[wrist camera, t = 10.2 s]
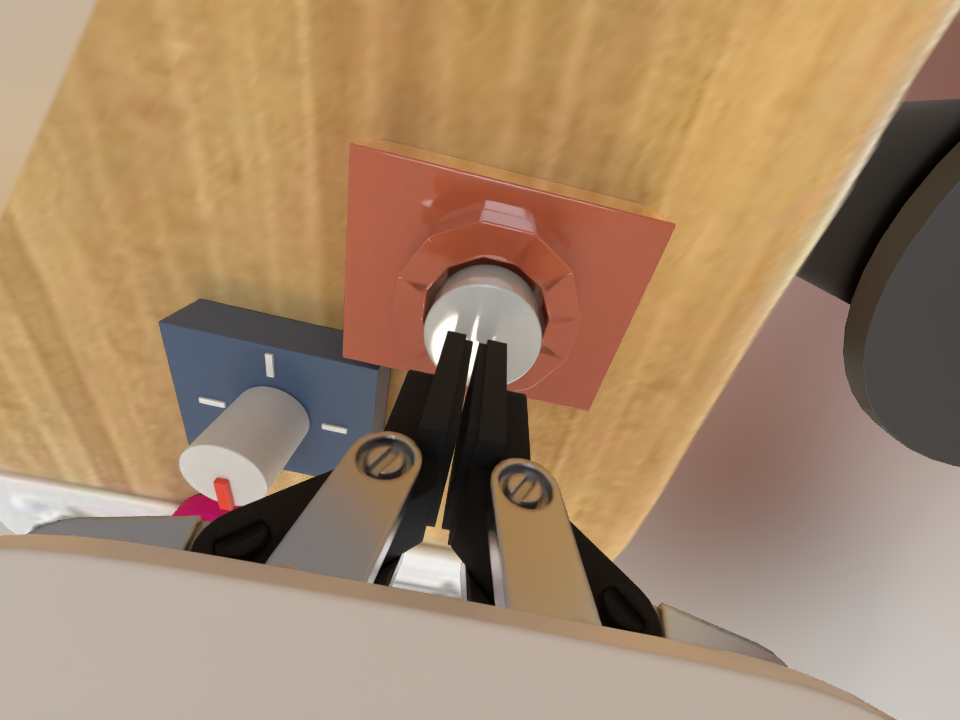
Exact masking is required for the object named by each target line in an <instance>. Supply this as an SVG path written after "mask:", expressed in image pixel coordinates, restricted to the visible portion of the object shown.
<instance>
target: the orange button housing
mask: <svg viewBox="0 0 960 720" xmlns="http://www.w3.org/2000/svg"><path fill="white" fill-rule="evenodd" d="M675 226H676V224H675V223H673V222H671V221H670V220H668V219H667V218H665V217H663V216H662V215H660V214H658V213H657V212H655V211H654V210H652V209H650V208H649V207H647V206H646V205H643V204H639V203H635V202H631V201H627V200H623V199H619V198H615V197H612V196H608V195H604V194H600V193H596V192H592V191H588V190H584V189H580V188H576V187H572V186H568V185H564V184H560V183H556V182H552V181H548V180H544V179H540V178H536V177H532V176H528V175H524V174H520V173H516V172H512V171H508V170H504V169H500V168H496V167H492V166H488V165H484V164H480V163H476V162H472V161H468V160H464V159H460V158H456V157H452V156H448V155H444V154H440V153H436V152H432V151H428V150H424V149H420V148H416V147H412V146H408V145H404V144H400V143H396V142H392V141H388V140H384V139H383V140H374V141H365V142H356V143H350V152H349V181H348V210H347V240H346V269H345V299H344V328H343V357H344V358H349V359H353V360H358V361H362V362H367V363H371V364H376V365H380V366H385V367H389V368H394V369H398V370H403V371H407V372H408V371H409V370H410V369H411V370H416V371H421V372H425V373H430V374H435V371H436V368H437V367H436V366H435V365H434V363H433V362H432V360H431V359H430V357H429V355H428V353H427V350H426V347H425V343H424V324H425V320H426V317H427V315H428V313H429V310H430V308H431V306H432V304H433V302H434V299H435V297H436V295H437V293H438V291H439V289H440V287H441V286H442V285H443V283H444V282H445V281H446V280H447V279H448V278H449V277H450V276H452V275H453V274H454V273H456V272H458V271H460V270H462V269H464V268H467V267H470V266H474V265H483V264H484V265H495V266H500V267H503V268H506V269H508V270H510V271H512V272H514V273H516V274H517V275H519V276H520V277H521V278H522V279H523V280H524V281H525V282H526V283H527V284H528V285H529V286H530V288H531V289H532V291H533V293H534V295H535V297H536V300H537V303H538V308H539V315H540V322H541V330H542V344H541V349H540V353H539V355H538V357H537V359H536V361H535V363H534V364H533V366H532V367H531V368H530V369H529V370H528V371H527V372H526V373H525V374H524V375H523V376H522V377H520V378H519V379H517V380H516V381H514V382H512V383H510V384H507V390H508V391H513V392H518V393H522V394H525V395H526V398H529V399H533V400H538V401H542V402H547V403H551V404H555V405H560V406H564V407H569V408H573V409H578V410H582V411H589V409H590V406H591V404H592V402H593V400H594V398H595V396H596V394H597V392H598V389H599V387H600V385H601V383H602V381H603V379H604V377H605V375H606V373H607V370H608V368H609V366H610V364H611V362H612V360H613V358H614V356H615V353H616V351H617V349H618V347H619V345H620V343H621V341H622V339H623V336H624V334H625V332H626V330H627V328H628V326H629V324H630V322H631V319H632V317H633V315H634V313H635V311H636V309H637V307H638V305H639V302H640V300H641V298H642V296H643V294H644V292H645V290H646V288H647V285H648V283H649V281H650V279H651V277H652V275H653V273H654V271H655V269H656V266H657V264H658V262H659V260H660V258H661V256H662V254H663V252H664V249H665V247H666V245H667V243H668V241H669V239H670V237H671V235H672V232H673V230H674V228H675ZM467 389H468V386H466V389H465V392H467Z"/></svg>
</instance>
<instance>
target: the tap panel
mask: <svg viewBox="0 0 960 720" xmlns="http://www.w3.org/2000/svg"><path fill="white" fill-rule="evenodd" d="M159 326H160V330H161V334H162V338H163V343H164V347H165V351H166V355H167V359H168V363H169V367H170V371H171V375H172V379H173V383H174V387H175V391H176V395H177V399H178V403H179V407H180V411H181V415H182V419H183V423H184V427H185V431H186V435H187V439H188V443H189V445H190V444H191V443H192V442H193V441H194V440H195V439H196V438H197V437H198V436H199V435H200V434H201V433H202V432H203V431H204V430H205V429H206V428H207V427H208V426H209V425H210V424H211V423H212V422H214V421H215V420H216V419H217V418H218V417H219V416H220V415H221V414H222V413H223V412H224V411H225V410H226V409H227V408H228V407H229V406H230V405H231V404H232V403H233V402H234V401H235V400H236V399H237V398H238V397H239V396H240V395H241V394H242V393H243V392H244V391H246V390H247V389H250V388H252V387H257V386H267V387H273V388H277V389H279V390H282V391H284V392H286V393H288V394H290V395H291V396H293V397H294V398H295V399H296V400H298V401H299V402H300V403H301V405H302V406H303V407H304V409H305V410H306V412H307V414H308V417H309V422H310V424H309V430H308V432H307V434H306V435H305V437H304V438H303V440H302V441H301V443H300V444H299V446H298V447H297V449H296V450H295V452H294V453H293V455H292V456H291V458H290V459H289V461H288V462H287V464H286V465H285V467H284V468H283V470H288V471H293V472H298V473H302V474H307V475H312V476H318V475H321V474H323V473H326V472H328V471H331V470H333V469H335V467H336V466H337V465H338V463H339V462H340V461H341V459H342V458H343V457H344V455H345V454H346V452H347V451H348V450H349V448H350V447H351V446H352V445H353V444H354V443H355V442H356V441H357V440H358V439H359V438H361V437H363V436H365V435H367V434H369V433H373V432H378V431H384V423H385V414H386V405H387V396H388V388H389V379H390V370H391V368H389V367H385V366H380V365H376V364H371V363H367V362H362V361H358V360H353V359H349V358H344V357H343V331H340V330H335V329H331V328H327V327H322V326H318V325H313V324H309V323H304V322H300V321H296V320H291V319H287V318H282V317H278V316H273V315H269V314H265V313H260V312H256V311H251V310H247V309H242V308H238V307H234V306H229V305H225V304H220V303H216V302H212V301H207V300H203V299H199V300H197V301H195V302H193V303H191V304H190V305H188V306H186V307H184V308H182V309H181V310H179V311H177V312H175V313H173V314H172V315H170V316H168V317H166V318H164V319H163V320H161V321H159Z"/></svg>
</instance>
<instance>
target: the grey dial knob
mask: <svg viewBox="0 0 960 720" xmlns="http://www.w3.org/2000/svg"><path fill="white" fill-rule="evenodd" d="M309 424H310V422H309V417H308V414H307V412H306V410H305V409H304V407H303V406H302V405H301V403H300V402H299V401H298V400H296V399H295V398H294V397H293V396H291V395H290V394H288V393H286V392H284V391H282V390H279V389H277V388H273V387H267V386H257V387H252V388H250V389H247V390H246V391H244V392H243V393H242V394H241V395H240V396H239V397H238V398H237V399H236V400H235V401H234V402H233V403H232V404H231V405H230V406H229V407H228V408H227V409H226V410H225V411H224V412H223V413H222V414H221V415H220V416H219V417H218V418H217V419H216V420H215V421H214V422H212V423H211V424H210V425H209V426H208V427H207V428H206V429H205V430H204V431H203V432H202V433H201V434H200V435H199V436H198V437H197V438H196V439H195V440H194V441H193V442H192V443H191V444H190V445H189V446H188V447H187V448H186V449H185V450H184V451H183V452H182V454H181V456H180V458H179V468H180V471H181V473H182V475H183V477H184V478H185V479H186V481H187V482H188V483H189V484H190V485H191V486H192V487H193V488H194V489H196V490H197V491H198V492H200V493H201V494H203V495H205V496H207V497H208V498H211V499H213V500H215V501H218V503H219V507H220V509H224V510H229V511H231V510H232V509H233V508H234V506H244V505H246V504H249V503H251V502H254V501H256V500H259V499H261V498H264V496H265V495H266V493H267V492H268V490H269V489H270V487H271V486H272V484H273V483H274V481H275V480H276V478H277V477H278V475H279V474H280V473H281V471H282V470H283V468H284V467H285V465H286V464H287V462H288V461H289V459H290V458H291V456H292V455H293V453H294V452H295V450H296V449H297V447H298V446H299V444H300V443H301V441H302V440H303V438H304V437H305V435H306V434H307V432H308V430H309Z"/></svg>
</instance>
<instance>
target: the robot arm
mask: <svg viewBox="0 0 960 720" xmlns="http://www.w3.org/2000/svg"><path fill="white" fill-rule="evenodd" d="M466 336H467V334H462V333H458V332H453V331H449V330H448V331H447V334H446V338H445V341H444V344H443V348H442V351H441V354H440V358H439V361H438V364H437V368H436V371H435V374H430V373H425V372H421V371H416V370H411V369H410V370H409V371H408V373H407V376H406V378H405V381H404V383H403V385H402V388H401V390H400V393H399V395H398V398H397V400H396V403H395V405H394V407H393V410H392V412H391V415H390V417H389V420H388V422H387V425H386V427H385V429H384V431H378V432H373V433H369V434H367V435H365V436H363V437H361V438H359V439H358V440H357V441H356V442H355V443H354V444H353V445H352V446H351V447H350V448H349V450H348V451H347V452H346V454H345V455H344V457H343V458H342V459H341V461H340V462H339V463H338V465H337V466H336V467H335V469H333V470H331V471H328V472H326V473H323V474H321V475H318V476H316V477H313V478H311V479H308V480H306V481H303V482H301V483H298V484H296V485H293V486H291V487H289V488H286V489H284V490H281V491H279V492H276V493H274V494H271V495H269V496H266V497H264V498H261V499H259V500H256V501H254V502H251V503H249V504H246V505H244V506H241V507H239V508H237V509H234V510H232V511H229V512H228V513H226V514H224V515H222V516H220V517H218V518H216V519H215V520H214V521H202V520H201V516H200V515H192V516H137V517H81V518H71V519H64V520H58V521H55V522H52V523H50V524H47V525H44V526H41V527H38V528H36V529H34V530H33V531H31V532H29V533H27V534H26V535H2V536H0V720H896V719H894V718H893V717H891V716H889V715H887V714H886V713H884V712H882V711H880V710H879V709H877V708H875V707H873V706H872V705H870V704H868V703H866V702H864V701H863V700H861V699H860V698H858V697H856V696H854V695H852V694H850V693H848V692H846V691H844V690H842V689H839V688H837V687H835V686H833V685H831V684H828V683H826V682H824V681H822V680H819V679H817V678H815V677H812V676H810V675H808V674H804V673H802V672H799V671H796V670H793V669H790V668H788V666H787V665H786V664H785V663H784V662H783V661H781V660H780V659H779V658H778V657H777V656H776V655H775V654H774V653H773V652H771V651H770V650H768V649H766V648H765V647H763V646H761V645H760V644H758V643H756V642H753V641H751V640H749V639H746V638H744V637H741V636H739V635H737V634H734V633H732V632H730V631H727V630H725V629H723V628H720V627H718V626H716V625H713V624H711V623H709V622H706V621H704V620H702V619H699V618H697V617H694V616H692V615H690V614H687V613H685V612H683V611H680V610H678V609H676V608H674V607H671V606H668V605H666V604H664V603H661V604H660V605H659V606H658V607H656V606H654V605H652V604H651V602H650V600H649V599H648V598H647V597H646V596H645V594H644V593H643V592H642V591H641V590H640V589H639V588H638V587H637V586H636V585H635V584H634V583H633V582H632V581H631V580H630V579H629V578H628V577H627V576H626V575H625V574H624V573H623V572H622V571H621V570H620V569H619V568H618V567H617V566H616V565H615V564H614V563H613V562H612V561H611V560H610V559H609V558H608V557H606V556H605V555H604V554H603V553H602V552H601V551H600V550H599V549H598V548H597V547H596V546H595V545H594V544H593V543H592V542H591V541H590V540H589V539H588V538H587V537H586V536H585V535H584V534H583V533H582V532H581V531H580V530H579V529H578V528H577V527H576V526H575V525H573V524H572V523H571V522H570V521H569V517H568V514H567V511H566V508H565V504H564V501H563V498H562V495H561V491H560V488H559V486H558V484H557V482H556V480H555V478H554V477H553V476H552V475H551V474H550V472H549V471H548V470H546V469H545V468H544V467H542V466H541V465H539V464H537V463H535V462H533V461H531V459H530V443H529V428H528V412H527V398H526V395H525V394H522V393H518V392H513V391H508V390H507V343H502V342H498V341H494V340H489V339H488V340H487V343H486V344H484V343H479V345H478V349H477V353H476V357H475V361H474V365H473V369H472V373H471V377H470V381H469V385H468V389H467V393H466V397H465V401H464V395H465V389H466V383H467V377H468V371H469V365H470V359H471V352H472V346H473V341H470V340H466ZM463 401H464V406H463ZM462 407H463V410H462ZM461 413H462V414H461ZM455 444H456V445H455ZM454 448H455V451H454ZM453 452H454V457H453V463H452V469H451V475H450V481H449V487H448V493H447V499H446V505H445V511H444V517H443V523H442V529H447V530H450V533H449V540H448V545H451V547H452V549H453V550H454V551H455V553H456V554H457V555H458V557H459V558H460V559H461V560H462V563H461V570H460V577H461V600H460V599H454V598H449V597H443V596H438V595H432V594H427V593H421V592H416V591H410V590H405V589H399V588H394V587H392V585H393V582H394V580H395V578H396V575H397V573H398V570H399V568H400V565H401V563H402V560H403V556H404V552H406V551H408V550H409V549H411V548H413V547H414V546H416V545H417V544H419V543H421V542H422V541H423V537H424V533H425V529H426V526H431V527H435V524H436V520H437V516H438V512H439V508H440V504H441V500H442V496H443V492H444V488H445V484H446V480H447V476H448V472H449V468H450V464H451V460H452V456H453Z"/></svg>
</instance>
